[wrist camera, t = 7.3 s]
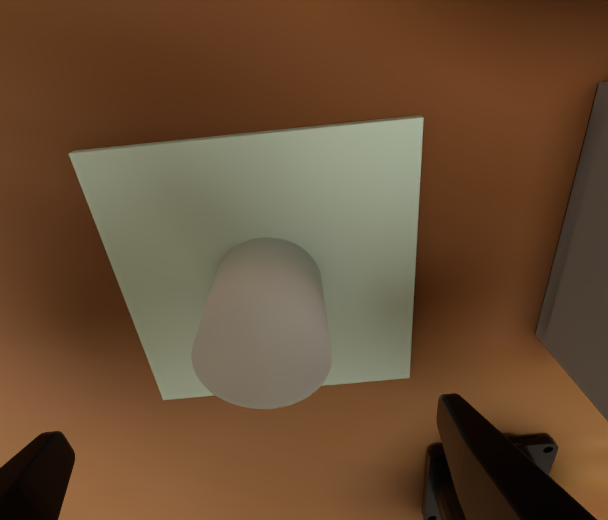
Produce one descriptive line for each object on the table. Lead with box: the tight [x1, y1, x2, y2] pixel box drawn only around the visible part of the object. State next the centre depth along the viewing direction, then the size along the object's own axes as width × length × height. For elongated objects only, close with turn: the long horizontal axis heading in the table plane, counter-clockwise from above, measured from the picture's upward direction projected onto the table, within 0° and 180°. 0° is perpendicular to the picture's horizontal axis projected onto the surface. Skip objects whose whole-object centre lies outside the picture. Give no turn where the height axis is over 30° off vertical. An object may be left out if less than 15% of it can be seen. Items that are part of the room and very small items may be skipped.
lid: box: [68, 115, 424, 409], centre depth 13 cm, size 11×11×5 cm
